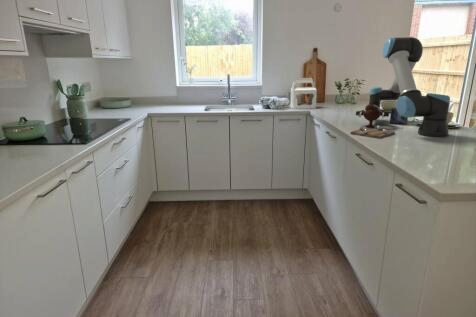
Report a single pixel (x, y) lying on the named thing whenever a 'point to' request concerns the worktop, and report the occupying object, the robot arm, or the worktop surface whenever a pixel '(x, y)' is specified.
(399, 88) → the robot arm
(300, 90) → the white lantern
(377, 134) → the stub board
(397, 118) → the small box
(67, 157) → the worktop surface
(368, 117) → the ice cream bowl
